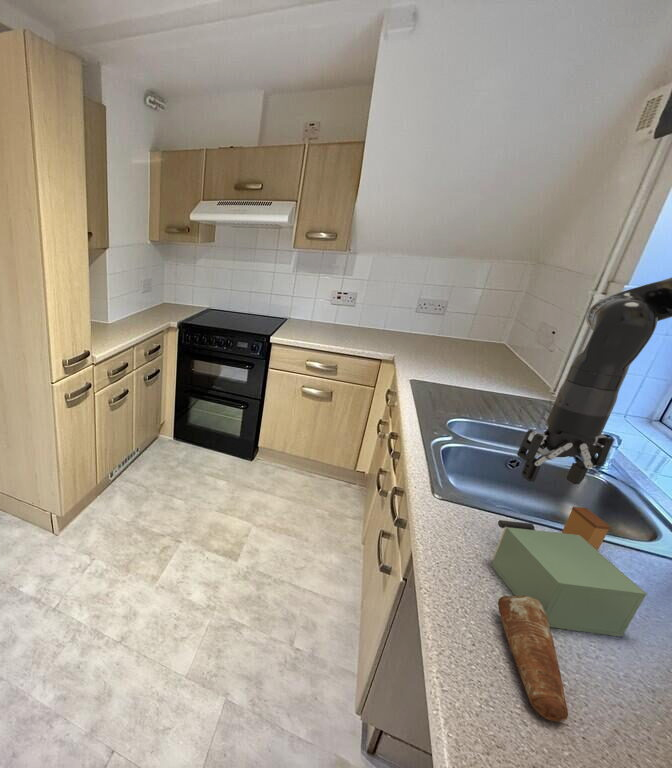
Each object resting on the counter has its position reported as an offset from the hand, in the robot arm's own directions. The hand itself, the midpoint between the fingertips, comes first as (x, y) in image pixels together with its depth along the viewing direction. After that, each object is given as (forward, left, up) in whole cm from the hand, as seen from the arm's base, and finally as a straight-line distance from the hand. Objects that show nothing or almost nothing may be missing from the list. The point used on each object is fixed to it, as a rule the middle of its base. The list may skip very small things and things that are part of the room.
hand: (550, 480), depth 82 cm
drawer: (+3, +9, -16) cm, 19 cm away
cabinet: (+3, +13, -17) cm, 22 cm away
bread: (+15, +28, -17) cm, 36 cm away
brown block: (-12, -3, -17) cm, 21 cm away
